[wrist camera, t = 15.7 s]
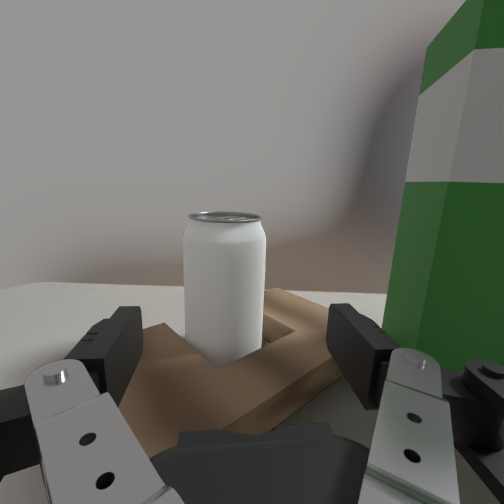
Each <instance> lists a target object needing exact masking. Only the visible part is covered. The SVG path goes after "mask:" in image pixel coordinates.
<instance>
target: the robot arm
mask: <svg viewBox="0 0 504 504" xmlns="http://www.w3.org/2000/svg"><path fill="white" fill-rule="evenodd" d="M326 344H327V348H328V351H329V353H330V354H331V356H332V357H333V359H334V360H335V362H336V364H337V365H338V367H339V368H340V370H341V372H342V373H343V375H344V376H345V378H346V379H347V381H348V383H349V384H350V386H351V387H352V389H353V391H354V392H355V394H356V395H357V397H358V398H359V400H360V402H361V403H362V405H363V406H364V408H365V410H374V409H379V411H378V416H377V421H376V425H375V430H374V435H373V439H372V444H371V449H368V448H367V447H365V446H363V445H361V444H359V443H357V442H355V441H352V440H349V439H347V438H343V437H340V436H335V435H333V434H332V431H331V429H330V427H329V424H328V422H326V423H310V424H295V425H290V426H287V427H284V428H280V429H277V430H274V431H271V432H268V433H264V434H261V435H248V434H242V433H236V432H230V431H224V430H217V429H216V430H201V431H185V432H179V435H178V441H177V446H174V447H171V448H169V449H166V450H164V451H161V452H160V453H158V454H156V455H154V456H152V457H151V458H148V457H147V455H146V453H145V452H144V450H143V448H142V447H141V445H140V443H139V442H138V440H137V438H136V437H135V435H134V433H133V432H132V430H131V428H130V427H129V425H128V424H127V422H126V420H125V419H124V417H123V415H122V414H121V412H120V410H119V409H118V407H119V405H120V403H121V400H122V398H123V396H124V394H125V391H126V389H127V387H128V385H129V383H130V380H131V378H132V376H133V374H134V371H135V369H136V367H137V365H138V363H139V360H140V358H141V355H142V351H143V331H142V316H141V309H140V307H139V306H120V307H119V308H118V309H117V310H116V311H115V313H114V314H113V315H112V316H111V318H110V319H103V320H102V321H100V322H98V323H97V324H95V325H93V326H92V327H91V329H90V330H89V331H88V332H87V333H86V335H84V337H83V338H82V339H81V341H79V342H78V343H77V345H76V346H75V347H74V348H73V349H72V350H71V351H70V353H69V354H68V355H67V356H66V357H65V358H64V359H63V360H59V361H55V362H51V363H49V364H46V365H44V366H42V367H40V368H38V369H36V370H35V371H33V372H32V373H31V374H30V375H29V376H28V377H27V378H26V380H25V383H24V385H21V386H17V387H13V388H8V389H4V390H0V481H1V480H2V478H3V477H4V476H5V475H8V474H11V473H14V472H17V471H20V470H23V469H26V468H29V467H32V466H35V465H38V464H40V469H41V474H42V478H43V483H44V487H45V492H46V496H47V501H48V504H460V499H459V490H458V480H457V471H456V461H455V452H454V446H455V448H456V449H457V450H458V451H459V453H460V454H461V455H462V456H463V458H464V459H465V460H466V461H467V462H468V464H469V465H470V466H471V467H472V469H473V470H474V471H475V472H476V474H477V475H478V476H479V477H480V479H481V480H482V481H483V482H484V483H485V485H486V486H487V487H488V488H489V490H490V491H491V492H492V493H493V495H494V496H495V497H496V498H497V499H498V501H499V502H500V503H501V504H504V366H502V365H500V364H497V363H494V362H491V361H488V360H483V359H470V360H467V362H466V365H465V369H464V372H460V371H454V370H448V369H442V368H440V365H439V363H438V362H437V361H436V360H435V359H434V358H432V357H431V356H429V355H428V354H426V353H423V352H421V351H418V350H415V349H410V348H402V347H401V346H400V345H399V344H398V343H397V342H396V341H395V340H394V339H392V338H391V337H390V336H389V335H388V334H387V333H385V331H384V330H383V329H382V328H379V326H378V325H377V324H376V323H375V322H374V321H373V320H372V319H370V318H368V317H366V316H364V315H362V314H359V313H358V312H357V311H356V310H355V309H354V308H353V307H352V306H351V305H350V304H348V303H344V304H331V305H330V307H329V312H328V322H327V331H326Z"/></svg>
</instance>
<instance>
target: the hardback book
mask: <svg viewBox="0 0 504 504" xmlns="http://www.w3.org/2000/svg"><path fill="white" fill-rule="evenodd" d="M382 329H383V330H384V331H385V333H387V334H388V335H389V336H390V337H391V338H392V339H394V340H395V341H396V342H397V343H398V344H399V345H400V346H401V347H402V348H410V349H415V350H418V351H421V352H423V353H426V354H428V355H429V356H431V357H432V358H434V359H435V360H436V361H437V362H438V363H439V365H440V368H442V369H448V370H454V371H460V372H464V369H465V365H466V362H467V360H470V359H483V360H488V361H491V362H494V363H497V364H500V365H502V366H504V0H466V1H465V2H464V3H463V5H462V6H461V7H460V8H459V10H458V11H457V12H456V13H455V14H454V16H453V17H452V18H451V19H450V20H449V22H448V23H447V24H446V25H445V27H444V28H443V29H442V30H441V31H440V33H439V34H438V35H437V36H436V37H435V39H434V40H433V41H432V42H431V43H430V45H429V46H428V47H427V50H426V57H425V63H424V69H423V75H422V81H421V87H420V94H419V100H418V106H417V112H416V119H415V125H414V131H413V138H412V144H411V150H410V156H409V162H408V169H407V174H406V181H405V188H404V193H403V199H402V206H401V212H400V218H399V224H398V230H397V237H396V243H395V250H394V255H393V261H392V268H391V274H390V280H389V286H388V293H387V299H386V305H385V311H384V317H383V324H382Z"/></svg>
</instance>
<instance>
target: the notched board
mask: <svg viewBox="0 0 504 504" xmlns="http://www.w3.org/2000/svg"><path fill="white" fill-rule="evenodd" d="M328 312H329V309H328V308H326V307H323V306H321V305H319V304H316V303H314V302H311V301H309V300H306V299H304V298H301V297H299V296H297V295H294V294H292V293H289V292H287V291H284V290H282V289H279V288H273V289H270V290H267V291H264V303H263V324H262V338H264V339H266V340H267V341H269V342H270V344H268V345H266V346H264V347H262V348H260V349H258V350H256V351H254V352H252V353H250V354H248V355H246V356H244V357H241V358H239V359H237V360H235V361H233V362H231V363H229V364H227V365H225V366H223V367H221V368H219V369H216V368H215V367H214V366H213V365H211V364H210V363H209V362H208V361H207V360H206V359H205V358H204V357H202V356H201V355H200V354H199V353H198V352H197V351H196V350H195V349H193V348H192V347H191V346H190V345H189V344H188V343H187V342H186V341H184V340H183V339H182V338H181V337H180V336H179V335H178V334H177V333H175V332H174V331H173V330H172V329H171V328H170V327H169V326H168V325H167V324H165V323H162V324H158V325H155V326H152V327H149V328H146V329H142V331H143V351H142V355H141V358H140V360H139V363H138V365H137V367H136V369H135V371H134V374H133V376H132V378H131V380H130V383H129V385H128V387H127V389H126V391H125V394H124V396H123V398H122V400H121V403H120V405H119V407H118V409H119V410H120V412H121V414H122V415H123V417H124V419H125V420H126V422H127V424H128V425H129V427H130V428H131V430H132V432H133V433H134V435H135V437H136V438H137V440H138V442H139V443H140V445H141V447H142V448H143V450H144V452H145V453H146V455H147V457H148V458H151V457H152V456H154V455H156V454H158V453H160V452H161V451H164V450H166V449H169V448H171V447H174V446H177V441H178V435H179V432H185V431H201V430H216V429H217V430H224V431H230V432H236V433H242V434H248V435H261V434H264V433H268V432H270V431H271V430H272V429H273V428H275V427H276V426H277V425H279V424H280V423H281V422H283V421H284V420H285V419H286V418H288V417H289V416H290V415H292V414H293V413H294V412H296V411H297V410H298V409H300V408H301V407H302V406H303V405H305V404H306V403H307V402H309V401H310V400H311V399H313V398H314V397H315V396H316V395H318V394H319V393H320V392H322V391H323V390H324V389H326V388H327V387H328V386H329V385H331V384H332V383H333V382H335V381H336V380H337V379H339V378H340V377H341V376H343V373H342V372H341V370H340V368H339V367H338V365H337V364H336V362H335V360H334V359H333V357H332V356H331V354H330V353H329V351H328V348H327V344H326V331H327V322H328Z"/></svg>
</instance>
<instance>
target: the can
mask: <svg viewBox="0 0 504 504" xmlns="http://www.w3.org/2000/svg"><path fill="white" fill-rule="evenodd" d="M188 217H189V218H190V220H189V224H188V226H187V229H186V231H185V233H184V237H183V252H184V253H183V257H184V298H185V333H186V342H187V343H188V344H189V345H190V346H191V347H192V348H193V349H195V350H196V351H197V352H198V353H199V354H200V355H201V356H202V357H204V358H205V359H206V360H207V361H208V362H209V363H210V364H211V365H213V366H214V367H215V368H216V369H219V368H221V367H223V366H225V365H227V364H229V363H231V362H233V361H235V360H237V359H239V358H241V357H244V356H246V355H248V354H250V353H252V352H254V351H256V350H258V349H260V348H261V343H262V324H263V303H264V280H265V258H266V257H265V256H266V236H265V233H264V230H263V228H262V226H261V222H260V220H261V219H262V217H261V216H259V215H256V214H250V213H240V212H199V213H193V214H190V215H189V216H188Z"/></svg>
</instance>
